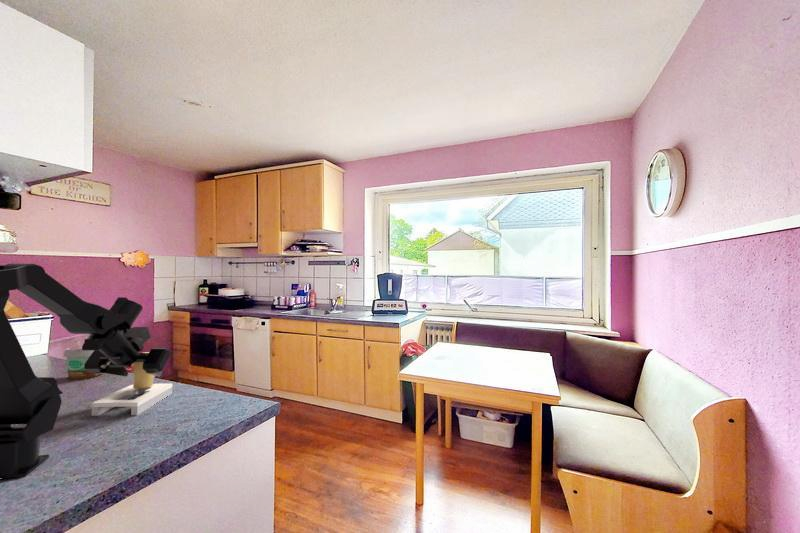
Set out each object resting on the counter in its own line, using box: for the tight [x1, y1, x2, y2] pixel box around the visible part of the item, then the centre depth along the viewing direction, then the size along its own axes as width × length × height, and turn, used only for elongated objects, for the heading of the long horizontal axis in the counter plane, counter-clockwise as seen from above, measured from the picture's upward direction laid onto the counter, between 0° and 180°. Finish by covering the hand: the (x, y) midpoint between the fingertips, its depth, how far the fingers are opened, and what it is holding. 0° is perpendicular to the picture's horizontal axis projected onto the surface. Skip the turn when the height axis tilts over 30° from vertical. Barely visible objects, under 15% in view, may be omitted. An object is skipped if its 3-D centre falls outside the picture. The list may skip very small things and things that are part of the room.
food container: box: [63, 347, 104, 381], centre depth 109 cm, size 12×6×10 cm, turn 105°
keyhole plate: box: [91, 383, 173, 417], centre depth 89 cm, size 14×11×3 cm
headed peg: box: [132, 351, 154, 400], centre depth 92 cm, size 4×4×13 cm
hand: (144, 374), depth 92 cm, fingers open, 9 cm apart
